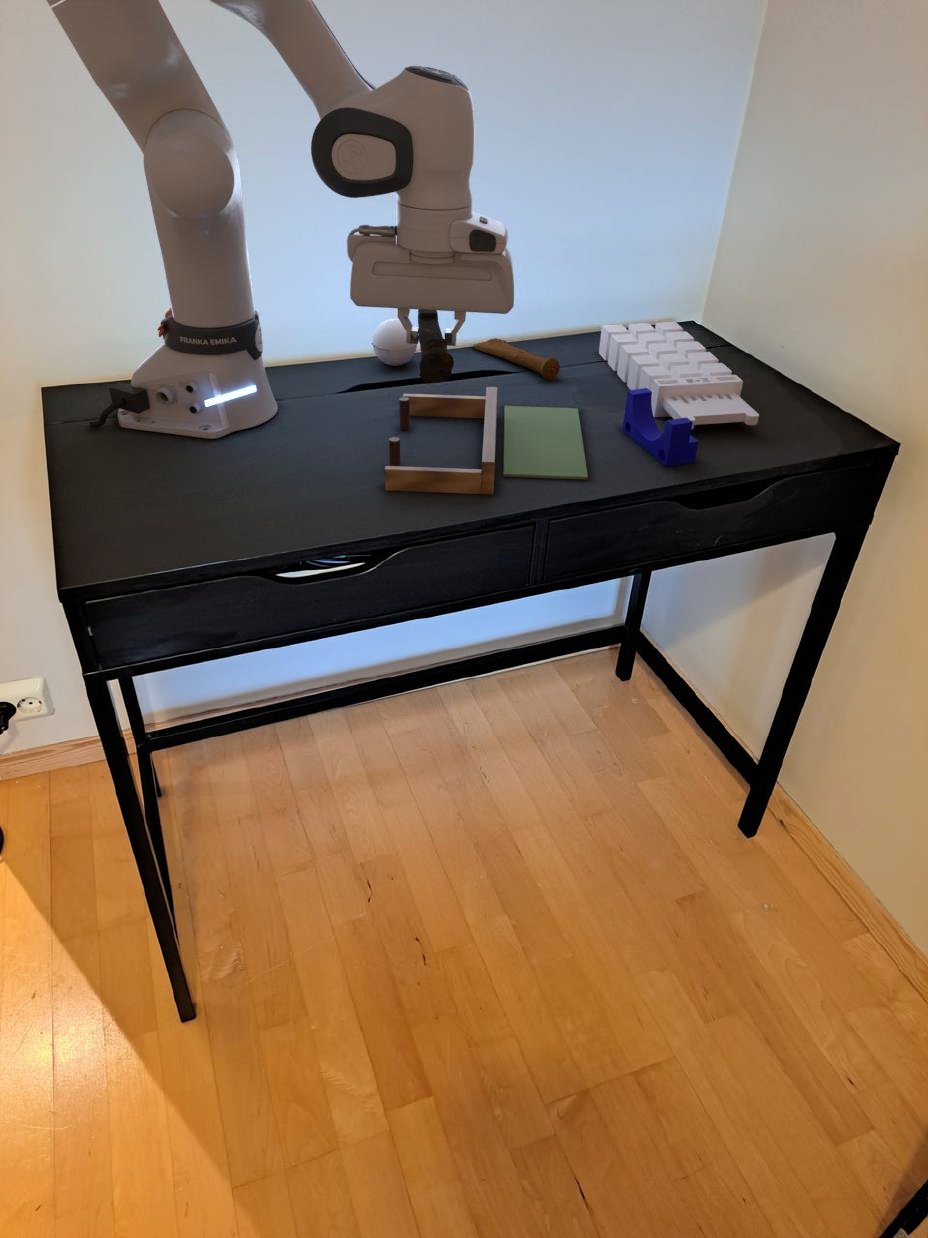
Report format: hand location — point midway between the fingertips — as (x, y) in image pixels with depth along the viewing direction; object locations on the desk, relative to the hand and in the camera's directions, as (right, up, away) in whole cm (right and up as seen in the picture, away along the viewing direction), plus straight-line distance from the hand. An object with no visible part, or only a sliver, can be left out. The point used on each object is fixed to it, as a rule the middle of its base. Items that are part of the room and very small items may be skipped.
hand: (431, 343), depth 114 cm
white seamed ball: (-7, +6, +33) cm, 34 cm away
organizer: (+37, +1, +27) cm, 46 cm away
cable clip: (+31, -11, +11) cm, 35 cm away
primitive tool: (+13, +8, +36) cm, 39 cm away
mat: (+15, -10, +12) cm, 22 cm away
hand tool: (-1, -1, +1) cm, 2 cm away
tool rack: (+1, -12, +9) cm, 15 cm away
